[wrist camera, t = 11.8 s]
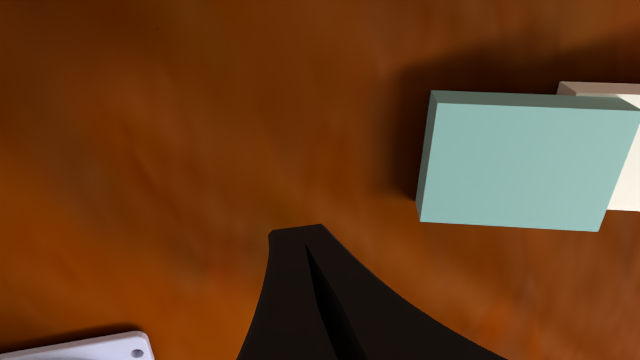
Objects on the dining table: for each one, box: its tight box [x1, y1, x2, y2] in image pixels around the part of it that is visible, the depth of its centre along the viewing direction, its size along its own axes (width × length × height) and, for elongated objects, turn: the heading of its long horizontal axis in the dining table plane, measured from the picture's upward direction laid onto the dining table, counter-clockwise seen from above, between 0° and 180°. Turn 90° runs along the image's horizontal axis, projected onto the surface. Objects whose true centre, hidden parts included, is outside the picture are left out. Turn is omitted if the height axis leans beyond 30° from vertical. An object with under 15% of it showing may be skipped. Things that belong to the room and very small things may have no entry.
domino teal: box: [415, 90, 640, 232], centre depth 17 cm, size 5×2×7 cm
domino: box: [556, 81, 640, 211], centre depth 18 cm, size 5×2×7 cm
